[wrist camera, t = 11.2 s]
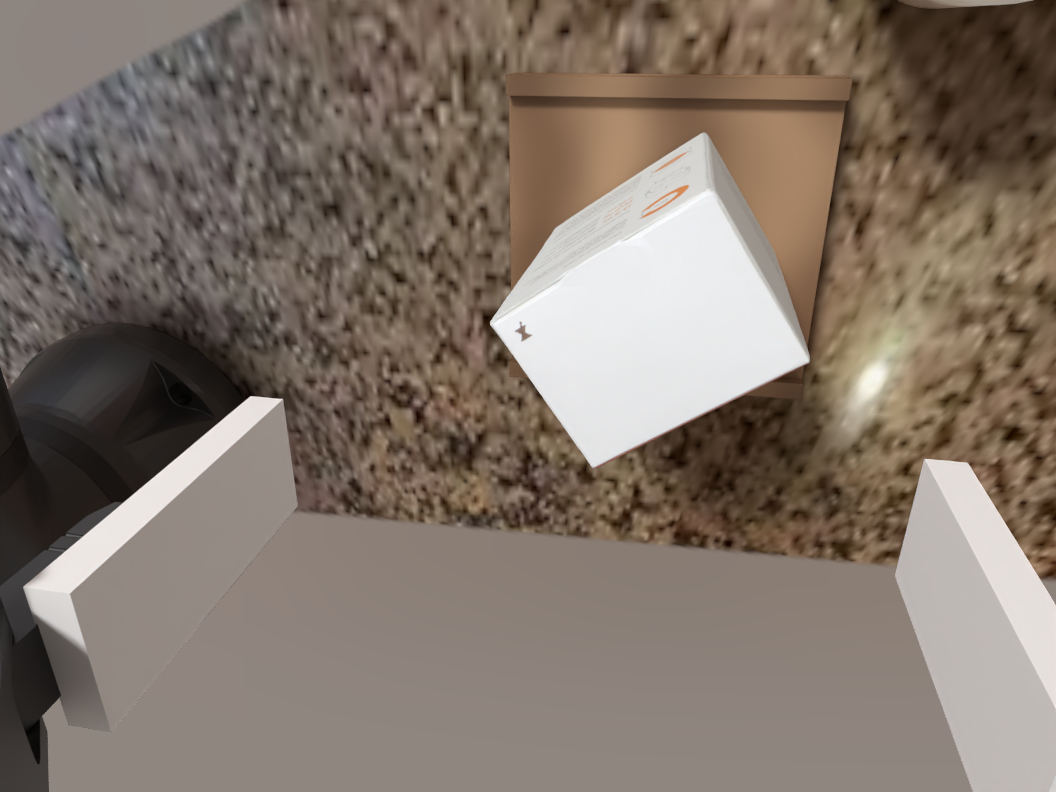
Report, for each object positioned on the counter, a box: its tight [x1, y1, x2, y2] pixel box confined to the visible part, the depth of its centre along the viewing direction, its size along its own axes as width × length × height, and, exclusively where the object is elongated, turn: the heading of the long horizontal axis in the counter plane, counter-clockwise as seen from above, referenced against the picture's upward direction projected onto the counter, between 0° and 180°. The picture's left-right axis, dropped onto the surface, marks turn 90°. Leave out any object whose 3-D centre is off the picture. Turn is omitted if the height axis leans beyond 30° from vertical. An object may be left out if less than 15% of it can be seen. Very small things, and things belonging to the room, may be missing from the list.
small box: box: [490, 133, 810, 468], centre depth 30 cm, size 8×6×13 cm
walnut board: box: [506, 73, 852, 400], centre depth 36 cm, size 14×14×2 cm
